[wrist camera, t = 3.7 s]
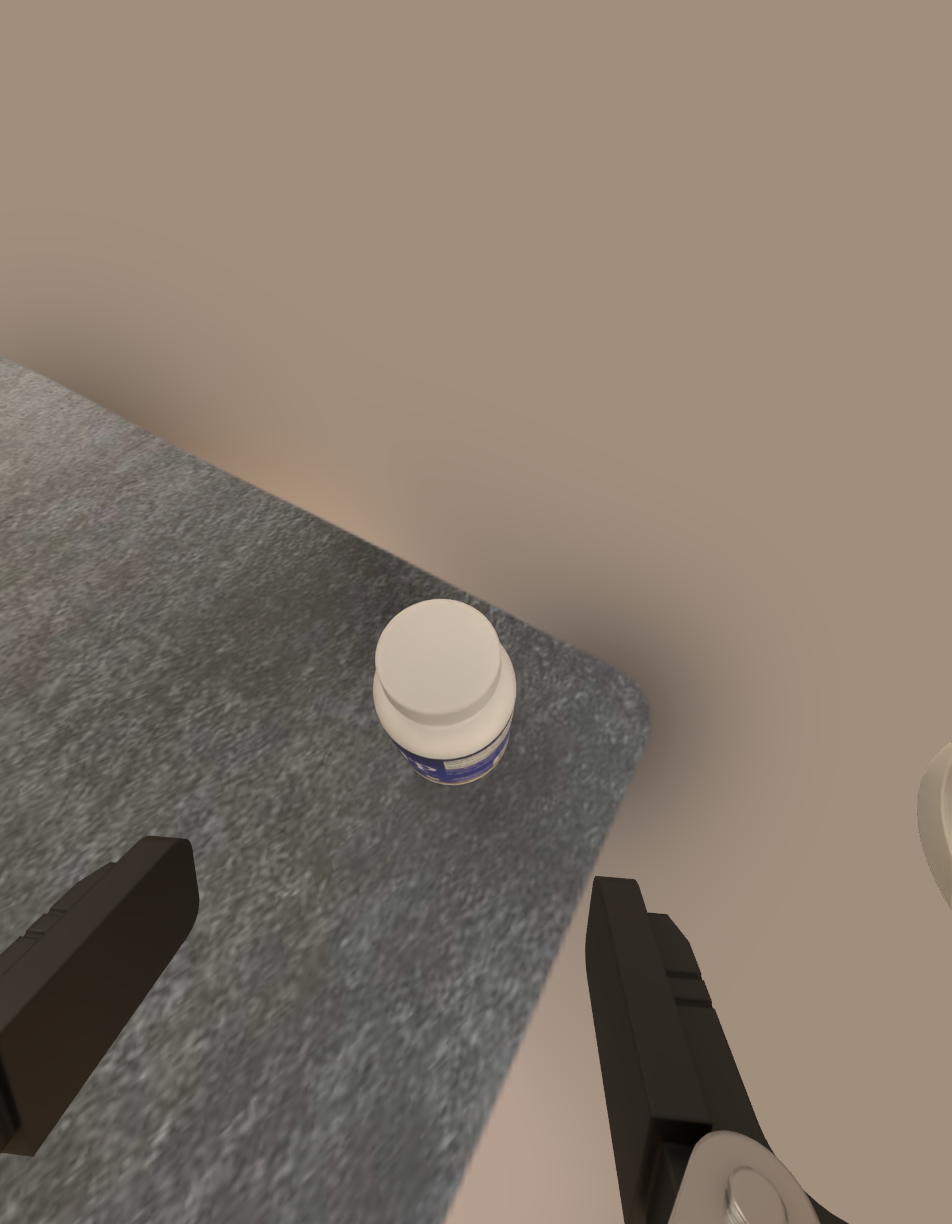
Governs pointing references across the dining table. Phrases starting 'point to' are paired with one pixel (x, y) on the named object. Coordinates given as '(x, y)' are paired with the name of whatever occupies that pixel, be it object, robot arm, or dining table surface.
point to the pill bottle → (445, 690)
